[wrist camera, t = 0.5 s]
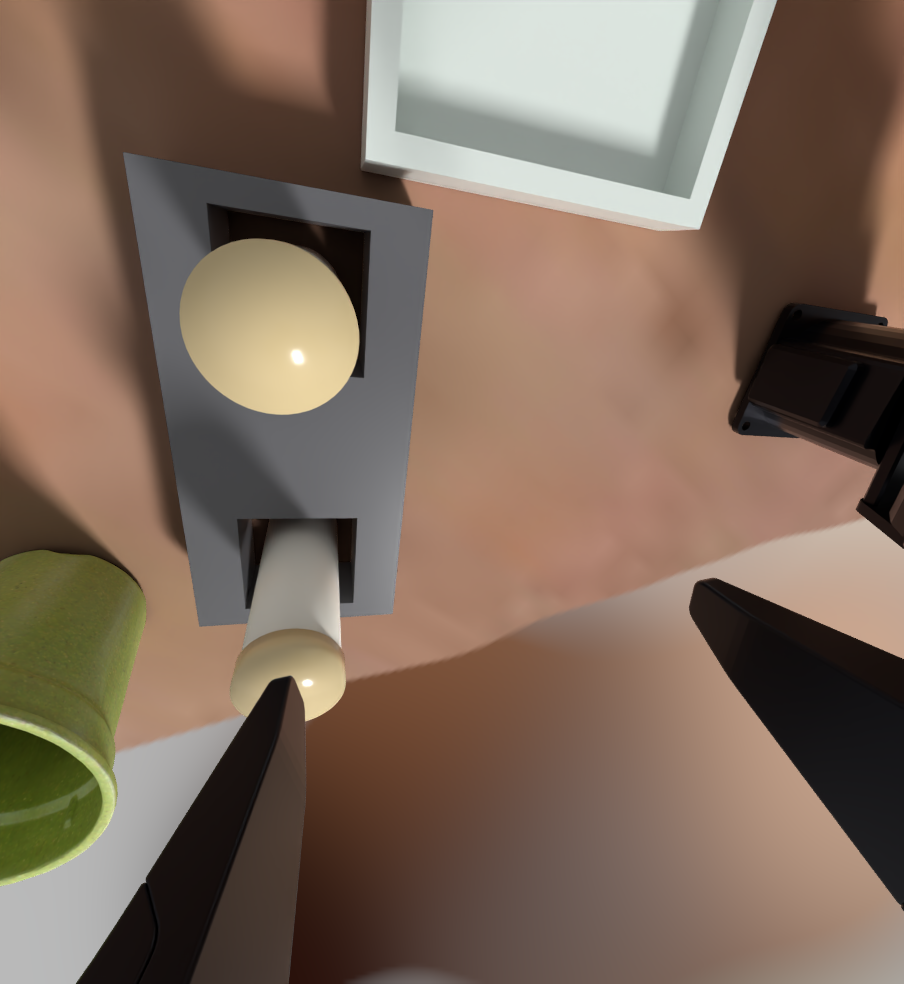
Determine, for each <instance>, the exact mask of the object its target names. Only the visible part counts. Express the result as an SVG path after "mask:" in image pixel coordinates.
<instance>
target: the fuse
mask: <svg viewBox="0 0 904 984" xmlns="http://www.w3.org/2000/svg"><path fill="white" fill-rule="evenodd" d="M285 676H292V677H293V678H294V679H295V681H296V684H297V686H298V689H299V691H300V693H301V696H302V698H303V701H304V706H305V721H308V720H311V719H313V718H315V717H318V716H320V715H322V714H323V713H325V712H326V711H328V710H329V709H331V708H332V707H333V706H334V705H335V704H336V703H337V702H338V701H339V699H340V698H341V696H342V694H343V692H344V689H345V684H346V679H345V657H344V653H343V651H342V649H341V630H340V601H339V571H338V541H337V520H336V518H300V519H270V520H269V524H268V529H267V534H266V539H265V543H264V548H263V553H262V558H261V562H260V567H259V572H258V577H257V581H256V586H255V591H254V596H253V600H252V605H251V610H250V615H249V619H248V624H247V629H246V633H245V638H244V643H243V648H242V651H241V653H240V654H239V656H238V658H237V660H236V663H235V668H234V672H233V677H232V681H231V686H230V698H231V701H232V703H233V705H234V707H235V708H236V709H237V710H238V711H239V712H240V713H241V714H242V715H244V716H245V717H248V715H249V714H250V712H251V710H252V709H253V707H254V706H255V704H256V702H257V701H258V699H259V698H260V696H261V695H262V693H263V691H264V690H265V688H266V687H267V685H268V684H269V682H270V681H271V680H273V679H276V678H280V677H285Z"/></svg>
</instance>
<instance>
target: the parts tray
mask: <svg viewBox="0 0 904 984" xmlns="http://www.w3.org/2000/svg"><path fill="white" fill-rule="evenodd" d="M776 2H777V0H367V9H366V36H365V64H364V91H363V119H362V146H361V170H362V171H367V172H372V173H377V174H382V175H387V176H391V177H396V178H401V179H406V180H411V181H416V182H421V183H426V184H431V185H436V186H441V187H446V188H451V189H455V190H460V191H465V192H470V193H475V194H480V195H485V196H490V197H495V198H500V199H505V200H510V201H515V202H519V203H524V204H529V205H534V206H539V207H544V208H549V209H554V210H559V211H564V212H569V213H574V214H578V215H583V216H588V217H593V218H598V219H603V220H608V221H613V222H618V223H623V224H628V225H633V226H638V227H642V228H647V229H652V230H657V231H671V230H696V229H700V226H701V223H702V220H703V217H704V215H705V212H706V209H707V206H708V203H709V200H710V197H711V194H712V191H713V188H714V185H715V182H716V179H717V176H718V173H719V170H720V167H721V164H722V161H723V158H724V155H725V152H726V150H727V147H728V144H729V141H730V138H731V135H732V132H733V129H734V126H735V123H736V120H737V117H738V114H739V111H740V108H741V105H742V102H743V99H744V96H745V93H746V90H747V88H748V85H749V82H750V79H751V76H752V73H753V70H754V67H755V64H756V61H757V58H758V55H759V52H760V49H761V46H762V43H763V40H764V37H765V34H766V31H767V28H768V25H769V23H770V20H771V17H772V14H773V11H774V8H775V5H776Z"/></svg>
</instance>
